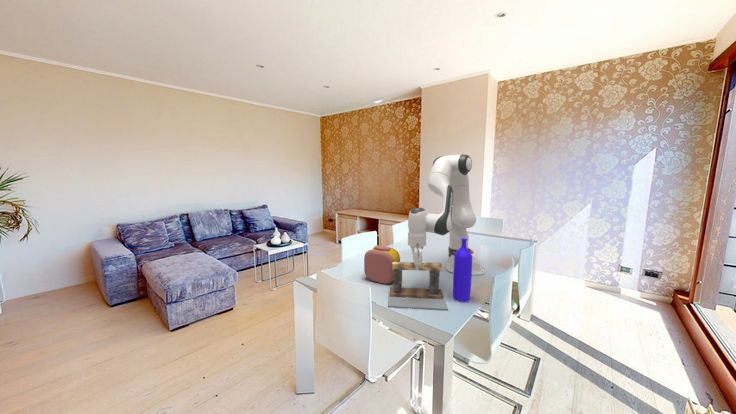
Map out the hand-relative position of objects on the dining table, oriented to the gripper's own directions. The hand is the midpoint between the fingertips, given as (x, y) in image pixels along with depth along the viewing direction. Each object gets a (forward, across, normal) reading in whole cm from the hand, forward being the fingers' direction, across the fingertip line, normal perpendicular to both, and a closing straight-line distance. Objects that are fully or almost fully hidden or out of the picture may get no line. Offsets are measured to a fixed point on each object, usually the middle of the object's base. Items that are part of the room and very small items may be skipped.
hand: (416, 268), depth 137 cm
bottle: (+14, -2, -22) cm, 26 cm away
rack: (+14, 0, 0) cm, 14 cm away
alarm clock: (+14, +16, +18) cm, 28 cm away
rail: (+1, 0, 0) cm, 1 cm away
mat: (+14, -11, 0) cm, 17 cm away
